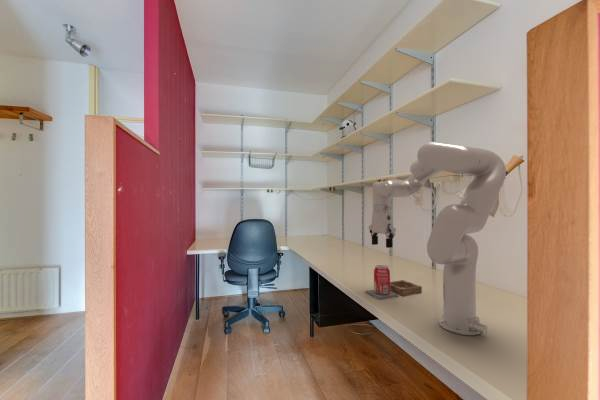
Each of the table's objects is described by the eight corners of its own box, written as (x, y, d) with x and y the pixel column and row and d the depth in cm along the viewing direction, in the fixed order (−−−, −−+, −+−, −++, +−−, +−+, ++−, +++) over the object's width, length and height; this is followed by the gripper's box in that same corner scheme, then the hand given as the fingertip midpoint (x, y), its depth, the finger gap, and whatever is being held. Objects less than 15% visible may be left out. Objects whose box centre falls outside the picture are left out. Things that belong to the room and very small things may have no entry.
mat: (397, 296, 120) (397, 294, 120) (379, 299, 116) (379, 297, 116) (382, 290, 129) (382, 287, 129) (365, 292, 125) (365, 290, 125)
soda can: (380, 289, 127) (380, 264, 127) (393, 293, 121) (393, 266, 121) (370, 292, 123) (370, 266, 123) (383, 296, 117) (383, 269, 117)
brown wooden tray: (421, 292, 125) (421, 286, 125) (402, 296, 120) (402, 289, 120) (403, 285, 135) (403, 280, 135) (385, 288, 131) (385, 282, 131)
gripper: (401, 208, 117) (402, 248, 116) (375, 208, 132) (376, 243, 132) (387, 209, 114) (388, 249, 113) (363, 208, 129) (363, 244, 129)
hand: (381, 245), depth 123 cm, fingers open, 9 cm apart
